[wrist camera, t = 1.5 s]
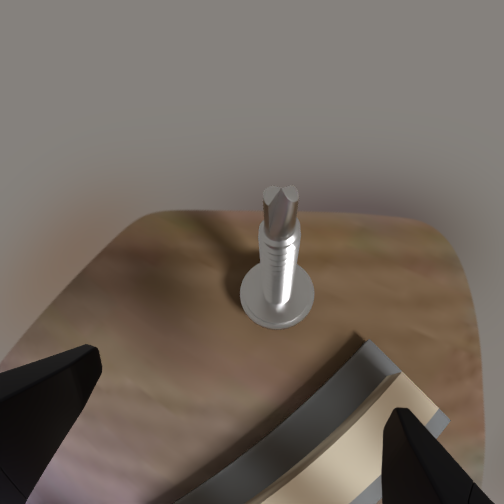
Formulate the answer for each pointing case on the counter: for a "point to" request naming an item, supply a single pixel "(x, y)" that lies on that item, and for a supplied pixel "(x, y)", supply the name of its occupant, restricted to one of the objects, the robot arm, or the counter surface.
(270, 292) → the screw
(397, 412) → the robot arm
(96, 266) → the counter surface
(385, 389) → the stand
